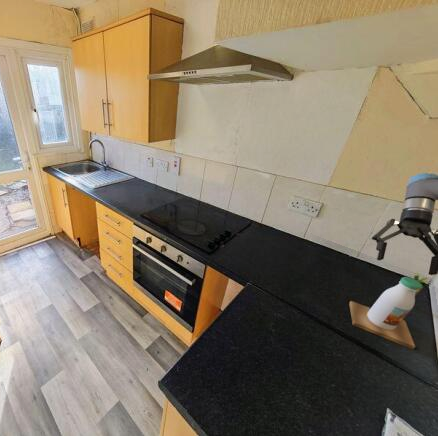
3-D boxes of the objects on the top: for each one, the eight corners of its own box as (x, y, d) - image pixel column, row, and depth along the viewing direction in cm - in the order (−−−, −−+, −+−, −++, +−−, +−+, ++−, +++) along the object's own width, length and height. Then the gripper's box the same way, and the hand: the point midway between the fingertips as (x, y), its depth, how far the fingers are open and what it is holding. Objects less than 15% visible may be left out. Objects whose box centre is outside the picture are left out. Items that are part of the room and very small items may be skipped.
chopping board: (402, 323, 84) (404, 320, 84) (412, 349, 75) (415, 346, 75) (349, 303, 92) (350, 300, 91) (352, 325, 83) (354, 322, 82)
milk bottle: (367, 323, 82) (399, 283, 72) (364, 309, 88) (393, 269, 78) (396, 335, 78) (433, 294, 69) (391, 319, 84) (425, 279, 74)
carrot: (406, 302, 93) (429, 275, 86) (407, 309, 90) (431, 282, 83) (390, 295, 96) (411, 268, 89) (390, 302, 93) (412, 275, 85)
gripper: (458, 226, 81) (448, 282, 77) (368, 208, 93) (356, 255, 89) (476, 219, 75) (467, 279, 71) (377, 200, 86) (365, 251, 82)
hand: (405, 266), depth 80 cm, fingers open, 13 cm apart
